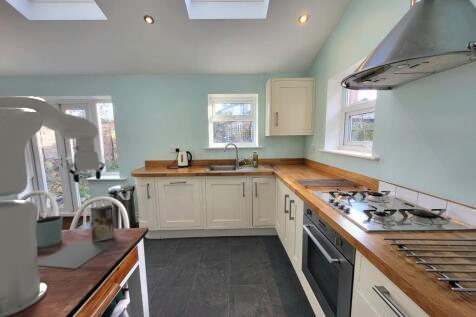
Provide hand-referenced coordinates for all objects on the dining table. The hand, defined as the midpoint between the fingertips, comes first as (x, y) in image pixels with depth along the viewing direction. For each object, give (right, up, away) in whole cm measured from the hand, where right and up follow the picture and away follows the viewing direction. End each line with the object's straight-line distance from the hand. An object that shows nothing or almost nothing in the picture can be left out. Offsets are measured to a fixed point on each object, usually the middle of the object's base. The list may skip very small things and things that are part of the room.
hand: (87, 180), depth 102 cm
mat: (+10, -31, -18) cm, 37 cm away
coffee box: (+11, -30, -5) cm, 32 cm away
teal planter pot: (-12, -30, -8) cm, 34 cm away
